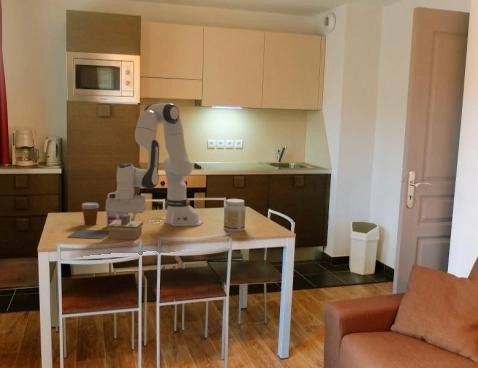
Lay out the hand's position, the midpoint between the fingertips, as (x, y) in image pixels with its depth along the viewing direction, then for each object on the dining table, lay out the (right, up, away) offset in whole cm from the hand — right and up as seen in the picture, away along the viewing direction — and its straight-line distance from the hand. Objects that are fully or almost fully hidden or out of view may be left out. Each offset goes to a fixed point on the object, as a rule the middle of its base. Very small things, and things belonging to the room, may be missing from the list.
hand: (125, 220), depth 256 cm
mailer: (0, -8, +1) cm, 8 cm away
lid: (0, -3, +1) cm, 3 cm away
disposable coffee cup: (-25, -4, +23) cm, 34 cm away
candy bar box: (-9, -5, +20) cm, 23 cm away
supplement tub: (+57, -7, +23) cm, 62 cm away
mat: (-19, -7, +2) cm, 21 cm away
